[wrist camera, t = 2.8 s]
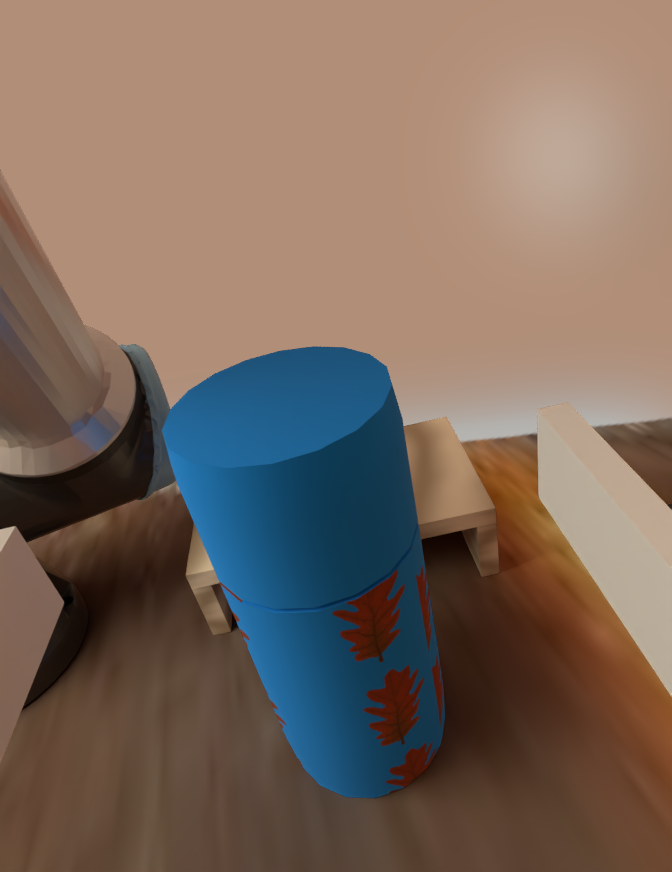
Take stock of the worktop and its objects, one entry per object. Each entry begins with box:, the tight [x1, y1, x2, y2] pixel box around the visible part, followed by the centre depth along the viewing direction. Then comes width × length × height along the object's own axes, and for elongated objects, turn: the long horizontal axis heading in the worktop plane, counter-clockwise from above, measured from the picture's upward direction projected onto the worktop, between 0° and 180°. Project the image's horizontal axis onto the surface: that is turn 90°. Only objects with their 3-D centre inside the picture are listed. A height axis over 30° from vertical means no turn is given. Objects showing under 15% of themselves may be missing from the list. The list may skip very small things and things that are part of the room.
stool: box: [186, 417, 499, 635], centre depth 52 cm, size 24×14×7 cm, turn 96°
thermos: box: [162, 347, 445, 798], centre depth 33 cm, size 11×11×25 cm
